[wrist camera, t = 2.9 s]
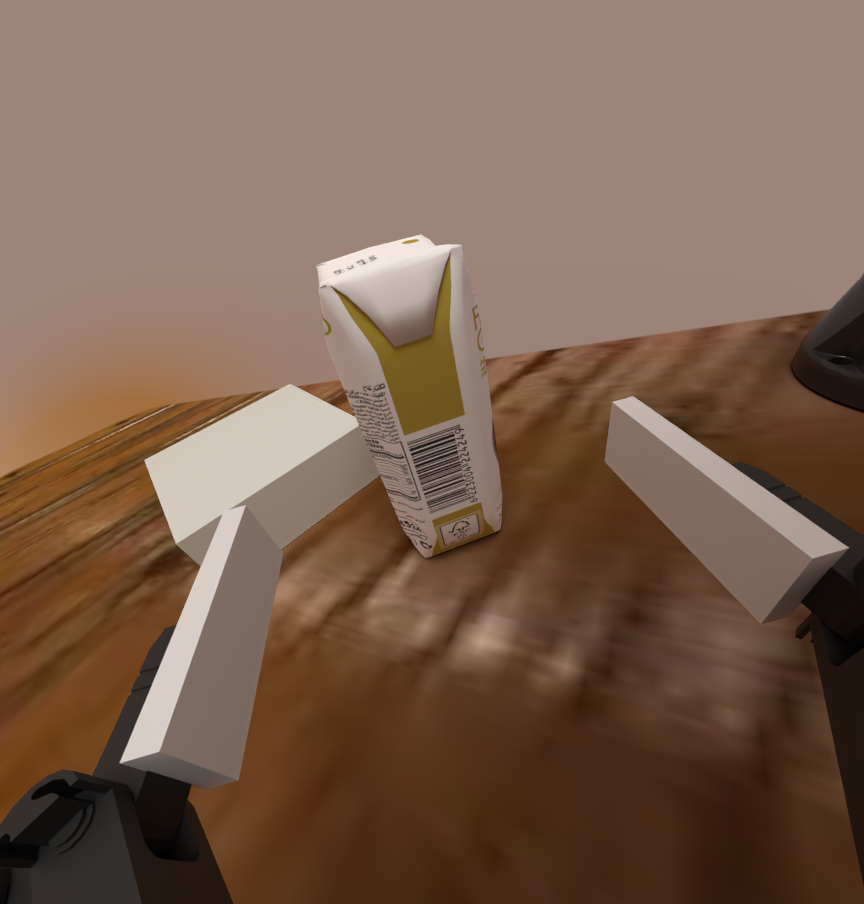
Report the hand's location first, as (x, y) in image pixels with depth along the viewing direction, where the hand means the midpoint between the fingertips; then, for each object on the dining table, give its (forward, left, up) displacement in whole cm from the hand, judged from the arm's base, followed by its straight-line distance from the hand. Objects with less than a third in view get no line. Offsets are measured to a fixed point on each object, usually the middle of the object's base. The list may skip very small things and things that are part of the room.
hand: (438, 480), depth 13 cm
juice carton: (-6, -8, -13) cm, 16 cm away
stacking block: (+2, -25, -13) cm, 28 cm away
